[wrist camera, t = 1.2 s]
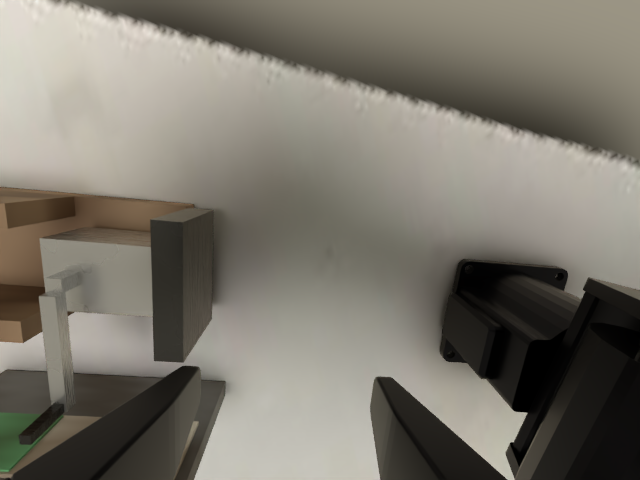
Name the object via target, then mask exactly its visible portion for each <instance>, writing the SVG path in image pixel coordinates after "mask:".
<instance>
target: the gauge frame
mask: <svg viewBox="0 0 640 480" xmlns="http://www.w3.org/2000/svg"><path fill="white" fill-rule="evenodd" d="M187 208H194V204H185V203H173V202H162V201H151V200H140V199H129V198H118V197H107V196H96V195H84V194H73V193H62V192H51V191H40V190H29V189H18V188H7V187H0V342H17V343H24V342H25V341H27V340H29V339H30V338H32V337H34V336H35V335H37V334H39V333H40V332H42V331H43V330H42V321H41V313H40V304H39V296H40V295H42V294H44V293H45V284H44V275H43V266H42V257H41V248H40V239H39V238H42V237H46V236H50V235H54V234H59V233H63V232H67V231H71V230H75V229H79V228H83V227H93V228H105V229H117V230H129V231H141V232H150V219H153V218H157V217H160V216H163V215H167V214H170V213H173V212H177V211H180V210H183V209H187ZM72 313H74V312H71V311H67V314H68V316H69V315H70V314H72ZM73 377H74V387H75V398H76V404H75V405H74V406H73V407H72V408H71V409H70V410H69V411H68V412H64V413H63V414H62V415H61V416H60V417H59V418H58V419H57V420H56V421H55V422H54V423H53V424H52V425H51V426H50V427H49V428H48V429H47V430H46V431H45V432H44V433H43V434H42V435H41V436H40V437H39V438H38V439H37V440H36V441H35V442H34V443H33V444H32V445H21V444H20V443H19V436H18V435H19V434H21V433H22V432H23V431H24V430H25V429H26V428H27V427H28V426H29V425H30V424H32V423H33V422H34V421H35V420H36V419H37V418H38V417H39V416H40V415H41V414H43V413H44V412H45V411H46V410H47V409H48V408H49V407H50V406H51V398H50V390H49V381H48V372H36V371H18V370H5V371H4V372H2V373H1V374H0V480H4V479H5V478H8V477H9V478H11V477H12V475H13V474H14V473H15V472H17V471H18V470H20V469H21V468H23V467H24V466H26V465H28V464H29V463H31V462H32V461H34V460H35V459H37V458H39V457H40V456H42V455H43V454H45V453H46V452H48V451H50V450H51V449H53V448H54V447H56V446H57V445H59V444H61V443H62V442H64V441H65V440H67V439H68V438H70V437H72V436H73V435H75V434H76V433H78V432H79V431H81V430H83V429H84V428H86V427H87V426H89V425H90V424H92V423H94V422H95V421H97V420H98V419H100V418H101V417H103V416H105V415H106V414H108V413H109V412H111V411H112V410H114V409H116V408H117V407H119V406H120V405H122V404H123V403H125V402H127V401H128V400H130V399H131V398H133V397H134V396H136V395H138V394H139V393H141V392H142V391H144V390H145V389H147V388H149V387H150V386H152V385H153V384H155V383H156V382H158V381H160V380H161V379H163V378H148V377H130V376H111V375H92V374H74V373H73ZM224 396H225V382H223V381H204V380H201V396H200V403H199V406H198V410H197V412H196V415H195V418H194V421H193V424H192V427H191V430H190V433H189V436H188V439H187V442H186V445H185V448H184V451H183V454H182V457H181V460H180V463H179V466H178V469H177V472H176V474H175V477H174V479H173V480H194V478H195V475H196V472H197V470H198V467H199V464H200V462H201V459H202V456H203V453H204V451H205V448H206V445H207V443H208V440H209V437H210V434H211V432H212V429H213V426H214V424H215V421H216V418H217V415H218V413H219V410H220V407H221V405H222V402H223V399H224Z"/></svg>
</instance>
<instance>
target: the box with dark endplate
mask: <svg viewBox="0 0 640 480" xmlns="http://www.w3.org/2000/svg"><path fill="white" fill-rule="evenodd" d="M213 221H214V210H209V209H198V208H187V209H183V210H180V211H177V212H173V213H170V214H167V215H163V216H160V217H157V218H153V219H150V232H141V231H129V230H117V229H105V228H93V227H83V228H79V229H75V230H71V231H67V232H63V233H59V234H54V235H50V236H46V237H42V238H39V239H40V248H41V257H42V266H43V275H44V284H45V293H44V294H42V295H40V296H39V304H40V313H41V321H42V330H43V338H44V347H45V355H46V364H47V372H48V381H49V390H50V398H51V406H50V407H49V408H48V409H47V410H46V411H45V412H44V413H43V414H41V415H40V416H39V417H38V418H37V419H36V420H35V421H34V422H33V423H32V424H30V425H29V426H28V427H27V428H26V429H25V430H24V431H23V432H22V433H21V434H19V435H18V436H19V443H20V444H21V445H32V444H33V443H34V442H35V441H36V440H37V439H38V438H39V437H40V436H41V435H42V434H43V433H44V432H45V431H46V430H47V429H48V428H49V427H50V426H51V425H52V424H53V423H54V422H55V421H56V420H57V419H58V418H59V417H60V416H61V415H62V414H63V413H64V412H68V411H69V410H70V409H71V408H72V407H73V406H74V405H75V404H76V398H75V387H74V377H73V366H72V356H71V345H70V335H69V324H68V314H67V311H71V312H86V313H102V314H117V315H132V316H147V317H153V340H154V361H165V362H184V361H185V359H186V358H187V356H188V355H189V353H190V352H191V350H192V349H193V347H194V346H195V344H196V342H197V341H198V339H199V338H200V336H201V335H202V333H203V332H204V330H205V329H206V327H207V326H208V324H209V322H210V321H211V319H212V274H213Z"/></svg>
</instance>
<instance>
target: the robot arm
mask: <svg viewBox="0 0 640 480" xmlns="http://www.w3.org/2000/svg"><path fill="white" fill-rule="evenodd" d="M469 265H470V269H469V270H468V271H465V268H466V267H467V266H469ZM557 274H558V276H557V277H556V278H555V276H556V275H557ZM567 278H568V273H567V271H566V270H564V269H562V268H559V267H554V266H542V265H530V264H518V263H506V262H494V261H482V260H470V259H465V260H462V261H461V262H460V263H459V264H458V267H457V271H456V276H455V281H454V286H453V291H452V293H451V295H450V296H449V300H448V304H447V309H446V314H445V319H444V324H443V329H442V333H443V339H442V344H441V349H440V353H441V355H442V357H443V358H444V359H445V360H446V361H449V362H462V363H468V364H469V365H470V367H471V368H472V369H473V370H474V371H475V373H476V374H477V375H478V376H479V377H480V378H481V379H487V380H488V382H489V383H490V384H491V385H492V386H493V387H494V389H495V390H496V391H497V392H498V393H499V394H500V395H501V397H502V398H503V399H504V400H505V401H506V402H507V404H508V405H509V406H510V407H511V408H512V409H513V410H514V411H516V412H527V416H526V418H525V420H524V422H523V424H522V426H521V428H520V430H519V432H518V434H517V437H516V439H515V441H514V443H513V442H511V443H510V445H509V447H508V449H507V451H506V456H507V459H508V462H509V465H510V467H511V470H512V473H513V475H514V478H515V480H640V290H636V289H632V288H629V287H625V286H621V285H617V284H613V283H609V282H605V281H601V280H597V279H593V278H588V280H587V282H586V284H585V286H584V288H583V290H584V291H585V294H584V296H583V298H582V299H580V298H578V297H576V296H573V295H571V294H569V293H567V292H565V291H564V288H565V285H566V281H567ZM449 351H452V352H451V353H450V354H447V353H448V352H449ZM200 396H201V371H200V368H199V367H197V366H182V367H180V368H178V369H177V370H175V371H174V372H172V373H171V374H169V375H167V376H166V377H164V378H163V379H161V380H160V381H158V382H156V383H155V384H153V385H152V386H150V387H149V388H147V389H145V390H144V391H142V392H141V393H139V394H138V395H136V396H134V397H133V398H131V399H130V400H128V401H127V402H125V403H123V404H122V405H120V406H119V407H117V408H116V409H114V410H112V411H111V412H109V413H108V414H106V415H105V416H103V417H101V418H100V419H98V420H97V421H95V422H94V423H92V424H90V425H89V426H87V427H86V428H84V429H83V430H81V431H79V432H78V433H76V434H75V435H73V436H72V437H70V438H68V439H67V440H65V441H64V442H62V443H61V444H59V445H57V446H56V447H54V448H53V449H51V450H50V451H48V452H46V453H45V454H43V455H42V456H40V457H39V458H37V459H35V460H34V461H32V462H31V463H29V464H28V465H26V466H24V467H23V468H21V469H20V470H18V471H17V472H15V473H14V474H13V475H12V477H11V478H9V477H8V478H5V479H4V480H173V479H174V477H175V474H176V472H177V469H178V466H179V463H180V460H181V457H182V454H183V451H184V448H185V445H186V442H187V439H188V436H189V433H190V430H191V427H192V424H193V421H194V418H195V415H196V412H197V410H198V406H199V403H200ZM370 412H371V420H372V427H373V434H374V440H375V447H376V454H377V461H378V467H379V474H380V480H507V479H506V478H505V477H504V476H503V475H501V474H500V473H499V472H498V471H497V470H496V469H495V468H493V467H492V466H491V465H490V464H489V463H488V462H487V461H486V460H484V459H483V458H482V457H481V456H480V455H479V454H478V453H477V452H475V451H474V450H473V449H472V448H471V447H470V446H469V445H467V444H466V443H465V442H464V441H463V440H462V439H461V438H460V437H458V436H457V435H456V434H455V433H454V432H453V431H452V430H451V429H449V428H448V427H447V426H446V425H445V424H444V423H443V422H441V421H440V420H439V419H438V418H437V417H436V416H435V415H434V414H432V413H431V412H430V411H429V410H428V409H427V408H426V407H425V406H423V405H422V404H421V403H420V402H419V401H418V400H417V399H415V398H414V397H413V396H412V395H411V394H410V393H409V392H408V391H406V390H405V389H404V388H403V387H402V386H401V385H400V384H399V383H397V382H396V381H395V380H394V379H393V378H391V377H376V378H375V380H374V384H373V391H372V397H371V404H370Z"/></svg>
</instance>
